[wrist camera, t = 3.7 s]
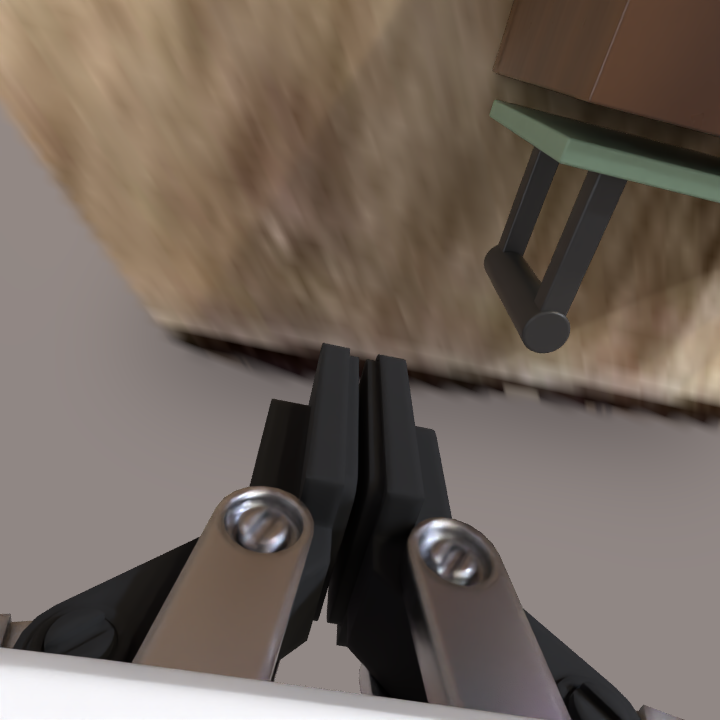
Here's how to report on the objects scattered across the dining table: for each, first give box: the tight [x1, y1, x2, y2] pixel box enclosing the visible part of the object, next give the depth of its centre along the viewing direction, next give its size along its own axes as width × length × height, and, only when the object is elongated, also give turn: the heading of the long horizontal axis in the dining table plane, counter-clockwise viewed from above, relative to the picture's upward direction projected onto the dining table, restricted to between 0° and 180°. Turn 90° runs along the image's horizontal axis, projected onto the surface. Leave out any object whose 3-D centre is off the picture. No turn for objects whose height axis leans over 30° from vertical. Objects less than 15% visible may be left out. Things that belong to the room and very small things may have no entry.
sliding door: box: [484, 100, 720, 353], centre depth 19 cm, size 9×6×8 cm, turn 77°
